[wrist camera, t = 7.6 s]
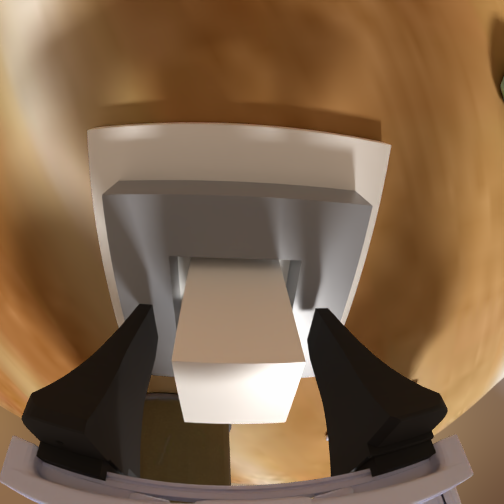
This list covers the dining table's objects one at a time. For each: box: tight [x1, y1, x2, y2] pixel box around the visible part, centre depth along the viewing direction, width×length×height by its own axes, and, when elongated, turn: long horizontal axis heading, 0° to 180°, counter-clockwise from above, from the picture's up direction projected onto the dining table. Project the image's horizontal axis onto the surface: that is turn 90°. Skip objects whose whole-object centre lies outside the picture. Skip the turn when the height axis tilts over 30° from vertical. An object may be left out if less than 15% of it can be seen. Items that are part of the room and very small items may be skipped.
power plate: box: [87, 122, 391, 378], centre depth 15 cm, size 16×14×3 cm
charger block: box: [172, 257, 306, 424], centre depth 12 cm, size 4×4×7 cm
